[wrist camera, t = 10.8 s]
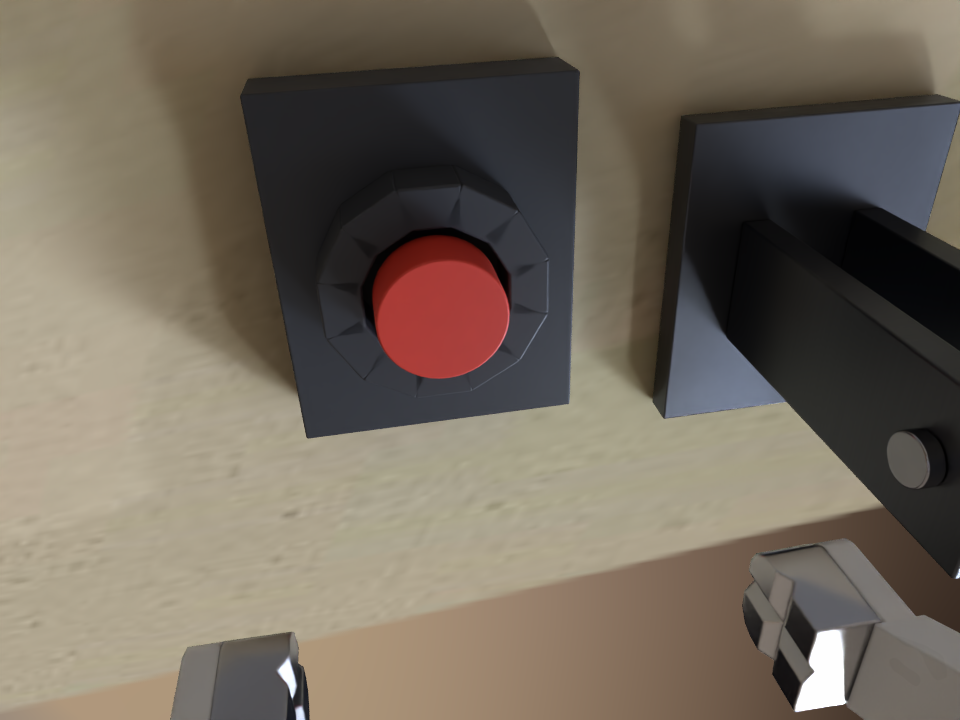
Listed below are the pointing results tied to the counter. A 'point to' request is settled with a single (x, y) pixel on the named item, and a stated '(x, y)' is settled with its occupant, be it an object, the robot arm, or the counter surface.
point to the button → (439, 307)
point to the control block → (418, 225)
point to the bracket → (824, 291)
